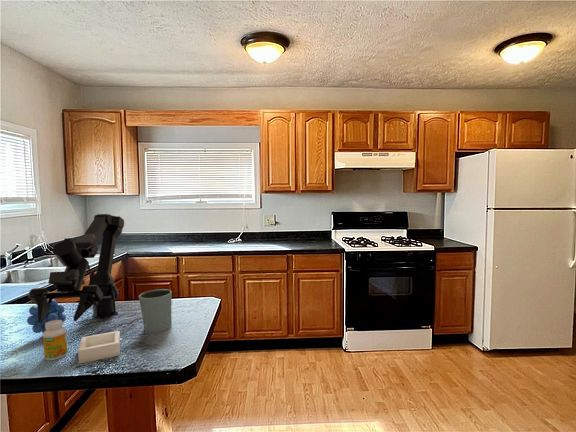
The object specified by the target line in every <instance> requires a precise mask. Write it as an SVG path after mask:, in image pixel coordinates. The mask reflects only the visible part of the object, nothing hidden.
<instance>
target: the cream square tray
mask: <svg viewBox="0 0 576 432" xmlns="http://www.w3.org/2000/svg"><path fill="white" fill-rule="evenodd" d="M120 334H121V333H120V330H115V331H110V332H105V333H98V334H93V335H86V336H82V337H81V340H80V343H79V347H78V349H77V355H78V364H83V363H88V362H93V361H98V360H103V359H108V358H112V357H118V356H121V336H120Z"/></svg>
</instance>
